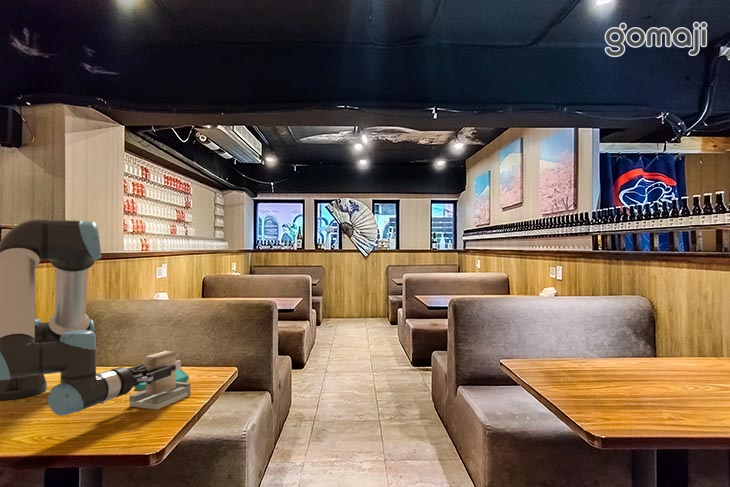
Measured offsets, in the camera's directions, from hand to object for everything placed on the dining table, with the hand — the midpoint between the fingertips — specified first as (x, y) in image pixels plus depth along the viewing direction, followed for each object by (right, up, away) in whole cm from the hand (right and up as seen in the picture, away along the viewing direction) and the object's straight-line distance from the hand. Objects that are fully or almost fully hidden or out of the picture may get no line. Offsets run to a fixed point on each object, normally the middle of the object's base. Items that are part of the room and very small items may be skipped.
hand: (173, 364), depth 146 cm
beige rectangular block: (-2, -7, -5) cm, 9 cm away
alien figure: (-12, -11, +16) cm, 23 cm away
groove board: (-2, -10, -5) cm, 11 cm away
